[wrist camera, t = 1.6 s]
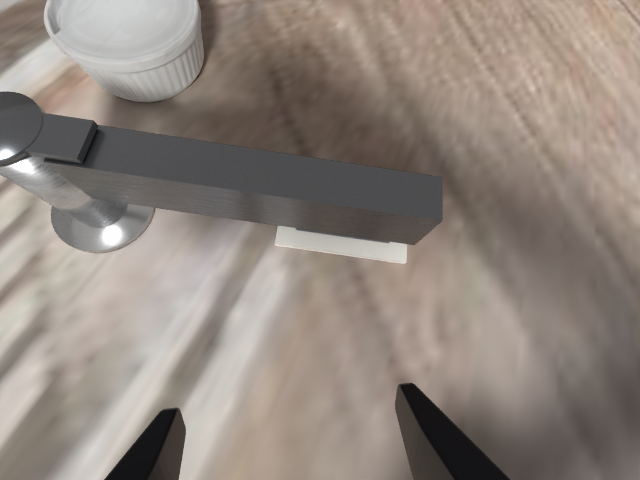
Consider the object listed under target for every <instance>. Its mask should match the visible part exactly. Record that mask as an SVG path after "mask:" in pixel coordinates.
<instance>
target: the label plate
mask: <svg viewBox="0 0 640 480" xmlns="http://www.w3.org/2000/svg"><path fill="white" fill-rule="evenodd" d="M275 246H282V247H289V248H296V249H303V250H310V251H317V252H324V253H331V254H338V255H345V256H352V257H359V258H366V259H373V260H380V261H387V262H394V263H401V264H405V263H406V258H407V244H402V243H395V242H389V241H382V240H375V239H368V238H361V237H354V236H347V235H340V234H333V233H326V232H319V231H312V230H305V229H299V228H292V227H285V226H278V228H277V234H276V239H275Z"/></svg>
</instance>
